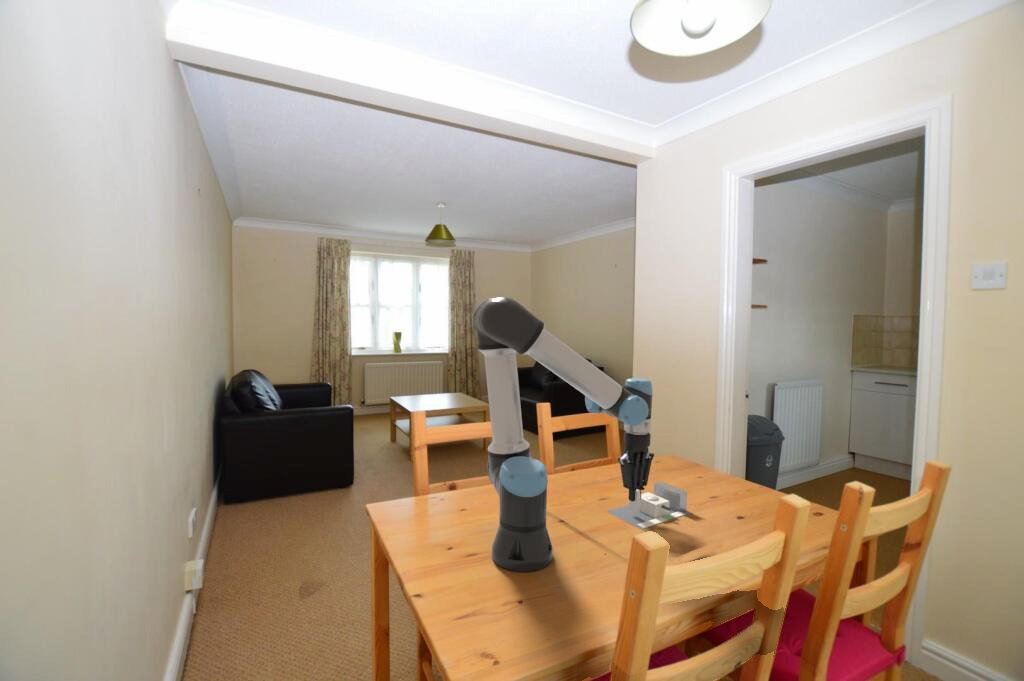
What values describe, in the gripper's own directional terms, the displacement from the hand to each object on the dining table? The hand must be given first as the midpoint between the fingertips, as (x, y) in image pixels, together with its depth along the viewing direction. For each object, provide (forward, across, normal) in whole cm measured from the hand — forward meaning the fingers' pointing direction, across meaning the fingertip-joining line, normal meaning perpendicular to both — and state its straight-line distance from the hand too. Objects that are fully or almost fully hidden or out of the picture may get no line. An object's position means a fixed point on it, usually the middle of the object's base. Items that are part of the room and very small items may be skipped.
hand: (634, 510), depth 137 cm
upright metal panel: (+2, +16, 0) cm, 16 cm away
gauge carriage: (+2, +7, -1) cm, 8 cm away
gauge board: (+3, +6, 0) cm, 7 cm away
